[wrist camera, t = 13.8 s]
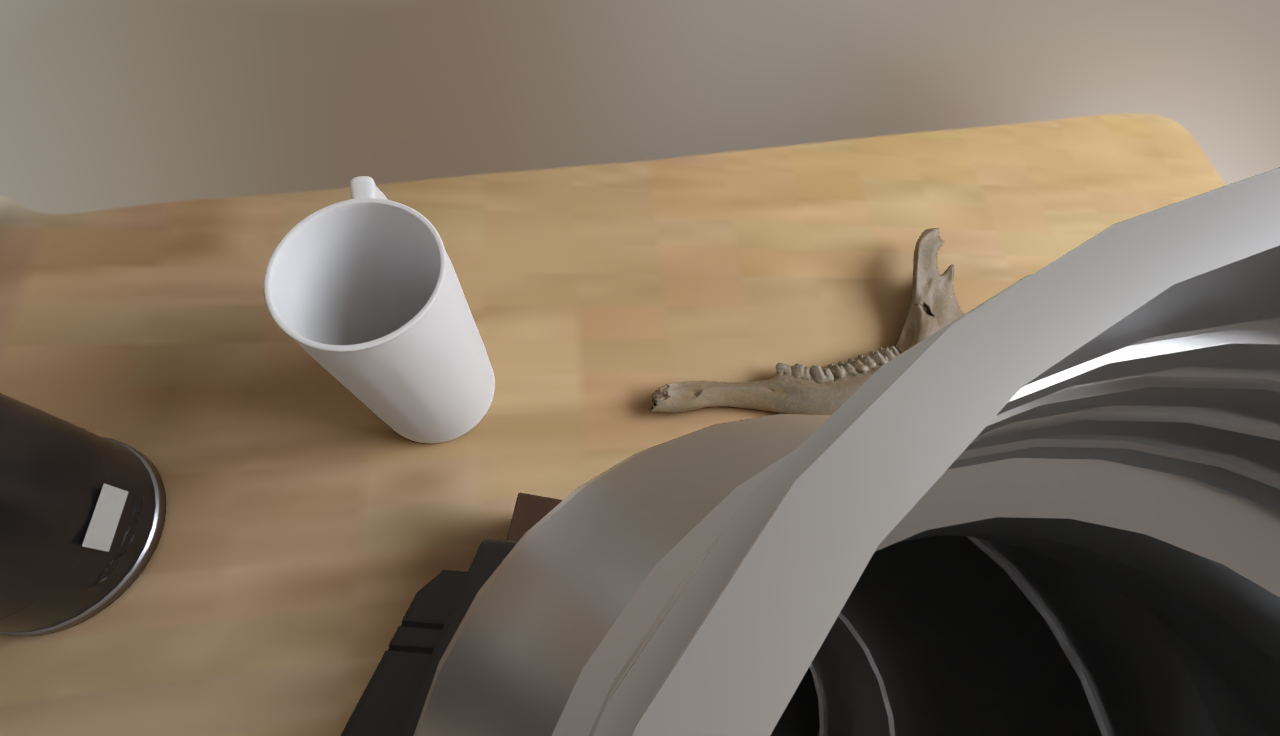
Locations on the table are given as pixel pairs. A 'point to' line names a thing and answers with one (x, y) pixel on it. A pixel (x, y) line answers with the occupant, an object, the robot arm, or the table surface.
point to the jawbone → (832, 384)
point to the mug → (383, 314)
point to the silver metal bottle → (940, 530)
